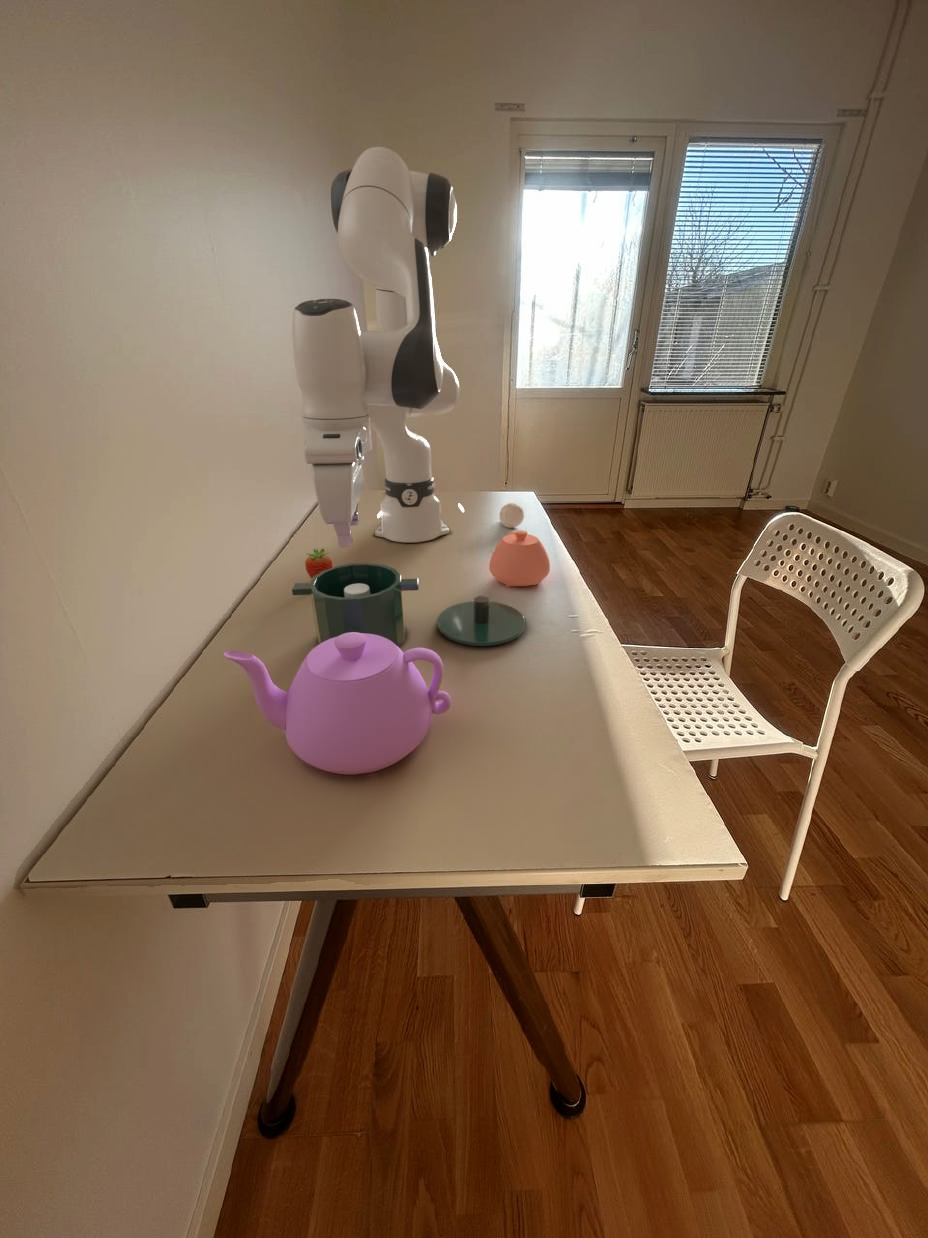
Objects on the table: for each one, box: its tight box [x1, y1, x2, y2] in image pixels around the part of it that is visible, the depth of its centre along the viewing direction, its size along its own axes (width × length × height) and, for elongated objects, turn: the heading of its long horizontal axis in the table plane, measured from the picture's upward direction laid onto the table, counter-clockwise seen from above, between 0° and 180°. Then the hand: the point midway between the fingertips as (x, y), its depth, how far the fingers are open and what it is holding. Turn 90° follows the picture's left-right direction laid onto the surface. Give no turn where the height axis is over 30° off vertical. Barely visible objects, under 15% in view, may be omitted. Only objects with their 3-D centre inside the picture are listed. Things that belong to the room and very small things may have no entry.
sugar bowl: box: [488, 529, 551, 588], centre depth 104 cm, size 12×14×10 cm
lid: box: [437, 595, 526, 647], centre depth 87 cm, size 15×15×5 cm
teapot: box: [223, 632, 452, 776], centre depth 61 cm, size 25×18×14 cm
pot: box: [291, 562, 419, 648], centre depth 83 cm, size 14×19×10 cm
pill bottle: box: [344, 583, 370, 597], centre depth 83 cm, size 5×5×8 cm
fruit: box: [304, 548, 334, 579], centre depth 102 cm, size 5×5×8 cm
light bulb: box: [498, 502, 525, 529], centre depth 137 cm, size 7×7×11 cm
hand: (349, 534), depth 77 cm, fingers open, 8 cm apart
